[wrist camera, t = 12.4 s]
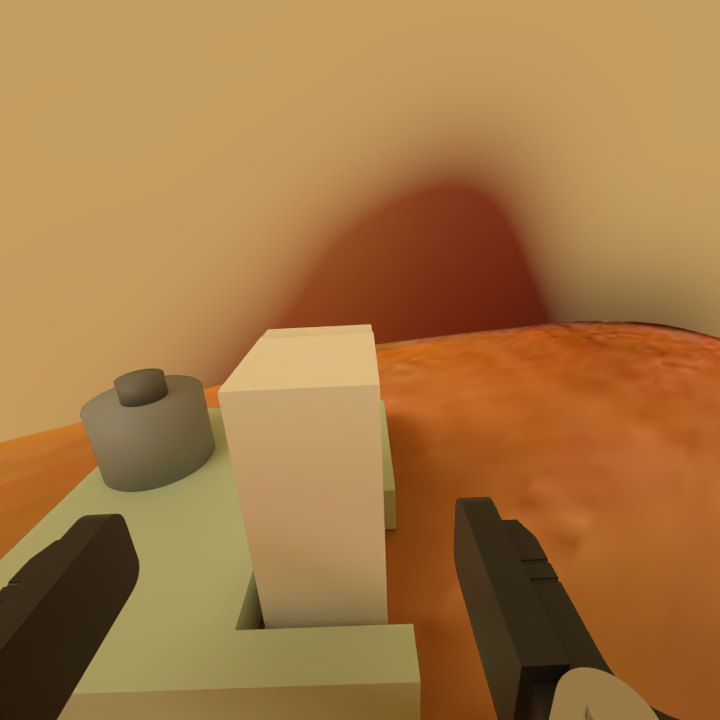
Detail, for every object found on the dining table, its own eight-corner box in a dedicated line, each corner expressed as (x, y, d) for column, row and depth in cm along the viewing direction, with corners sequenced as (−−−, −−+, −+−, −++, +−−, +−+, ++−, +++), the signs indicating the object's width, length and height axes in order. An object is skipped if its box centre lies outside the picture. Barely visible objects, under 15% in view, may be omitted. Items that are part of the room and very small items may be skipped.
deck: (-106, 748, 12) (-255, 574, 10) (162, 440, 29) (135, 344, 26) (420, 731, 12) (421, 548, 9) (384, 430, 29) (381, 332, 26)
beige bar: (270, 653, 15) (217, 392, 11) (295, 529, 20) (266, 329, 16) (388, 649, 14) (379, 384, 11) (380, 525, 20) (372, 324, 16)
